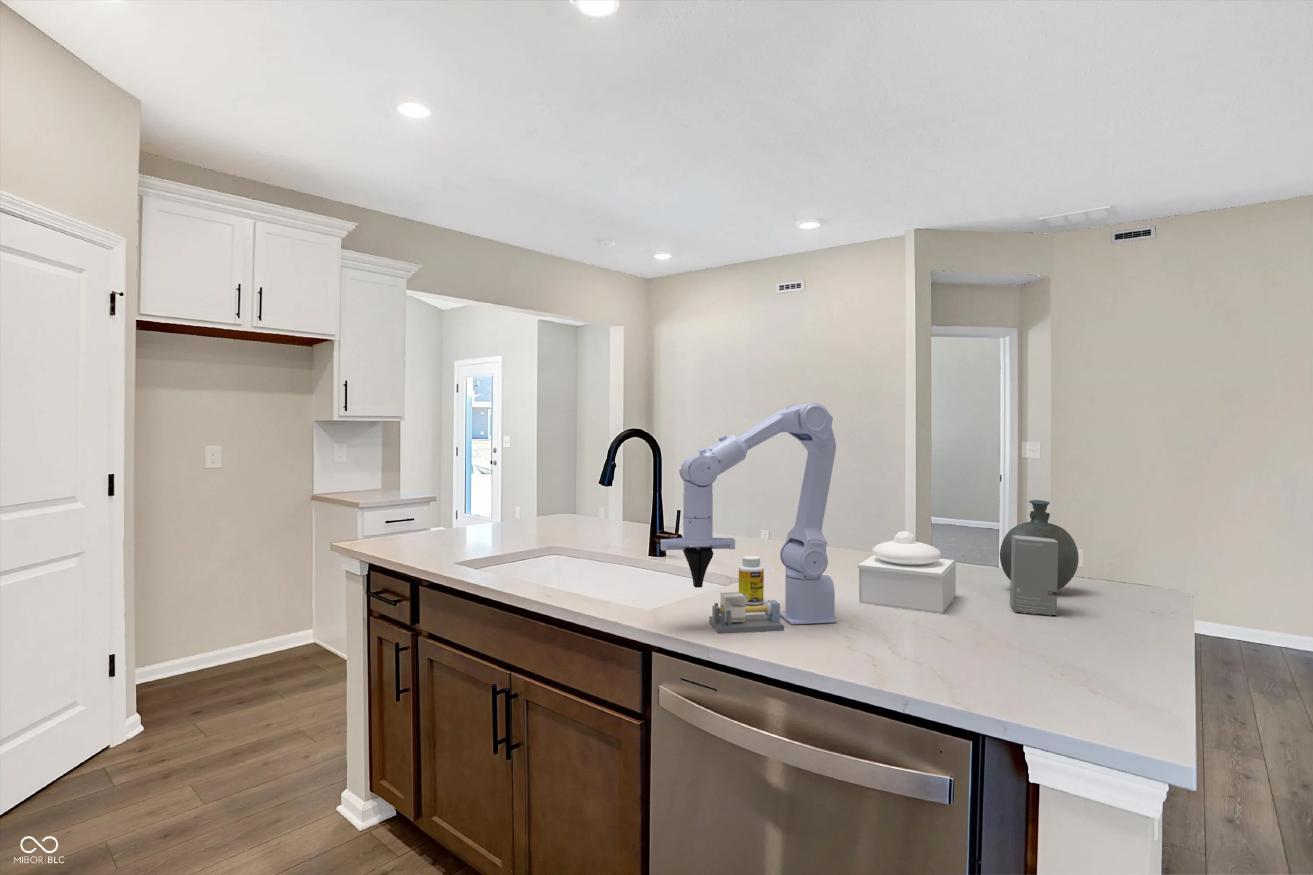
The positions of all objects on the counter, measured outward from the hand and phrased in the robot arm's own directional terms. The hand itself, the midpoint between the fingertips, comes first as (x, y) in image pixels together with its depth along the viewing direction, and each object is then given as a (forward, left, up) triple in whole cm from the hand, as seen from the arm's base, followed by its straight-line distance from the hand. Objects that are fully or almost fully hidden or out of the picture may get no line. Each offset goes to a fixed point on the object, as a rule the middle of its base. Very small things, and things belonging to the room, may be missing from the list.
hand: (697, 586), depth 128 cm
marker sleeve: (-7, 0, -7) cm, 10 cm away
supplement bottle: (-16, -17, -8) cm, 25 cm away
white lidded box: (-52, -15, -9) cm, 54 cm away
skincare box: (-74, -2, -8) cm, 74 cm away
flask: (-87, -17, -8) cm, 89 cm away
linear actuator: (-10, 0, -8) cm, 13 cm away
